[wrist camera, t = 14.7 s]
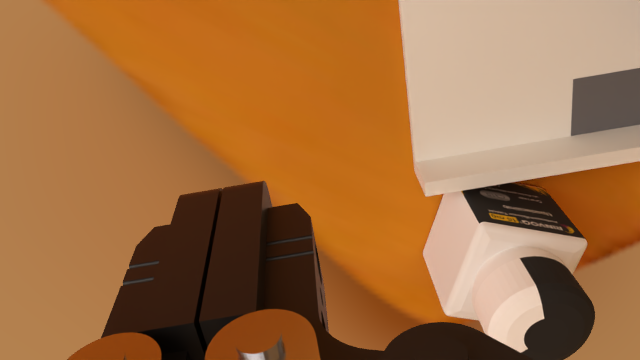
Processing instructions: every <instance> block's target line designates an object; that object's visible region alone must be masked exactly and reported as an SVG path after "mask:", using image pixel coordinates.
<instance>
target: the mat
mask: <svg viewBox="0 0 640 360" xmlns="http://www.w3.org/2000/svg"><path fill="white" fill-rule="evenodd" d="M634 125H640V68H636V69H630V70H624V71H618V72H612V73H606V74H600V75H595V76H589V77H583V78H577V79H573V93H572V116H571V136H575V135H581V134H586V133H592V132H598V131H604V130H610V129H616V128H622V127H628V126H634Z"/></svg>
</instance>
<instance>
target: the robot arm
mask: <svg viewBox="0 0 640 360" xmlns="http://www.w3.org/2000/svg"><path fill="white" fill-rule="evenodd" d="M327 321H328V320H327V311H326V301H325V291H324V284H323V278H322V273H321V269H320V263H319V258H318V253H317V248H316V242H315V237H314V232H313V227H312V222H311V217H310V216H309V215H308V214H307V213H306V212H305V211H304V209H303V208H302V207H301V206H300V205H299V204H298V203H295V204H289V205H283V206H277V207H272V204H271V200H270V195H269V191H268V188H267V185H266V182H265V181H261V182H255V183H249V184H243V185H237V186H231V187H225V188H224V189H221V188H220V189H214V190H208V191H202V192H196V193H191V194H185V195H180V197H179V199H178V202H177V205H176V208H175V212H174V215H173V218H172V221H171V224H170V225H164V226H158V227H154V228H153V229H152V230H151V232H149V233H148V234H147V236H146V237H145V238H144V239H143V240H142V241H141V242H140V243H139V244H138V245H137V246H136V248H135V251H134V254H133V256H132V259H131V262H130V264H129V269H128V270H127V272H126V274H125V277H124V280H123V286H121V288H120V290H119V293H118V295H117V298H116V300H115V303H114V306H113V308H112V311H111V313H110V316H109V319H108V321H107V324H106V327H105V329H104V332H103V334H102V337H101V339H98V340H96V341H94V342H92V343H90V344H88V345H86V346H84V347H83V348H81V349H80V350H78V351H77V352H75V353H74V354H73V355H72V356H70V357H69V358H68V359H67V360H534V359H532V358H530V357H528V356H526V355H524V354H522V353H520V352H518V351H517V350H515V349H513V348H511V347H509V346H507V345H505V344H503V343H501V342H499V341H497V340H496V339H494V338H492V337H490V336H488V335H486V334H484V333H482V332H480V331H478V330H476V329H474V328H471V327H468V326H465V325H462V324H456V323H447V322H437V323H428V324H423V325H419V326H416V327H413V328H411V329H409V330H407V331H405V332H403V333H401V334H400V335H398V336H397V337H396V338H395V339H394V340H392V341H391V342H390V343H389V345H388V346H387V348H386V349H385V351H378V350H367V349H362V348H357V347H353V346H349V345H347V344H345V343H342V342H340V341H339V340H337V339H335V338H334V337H332V336H331V335H330V334H329V330H328V322H327Z"/></svg>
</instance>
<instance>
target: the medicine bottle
mask: <svg viewBox="0 0 640 360" xmlns="http://www.w3.org/2000/svg"><path fill="white" fill-rule="evenodd" d="M587 244H588V243H587V241H586V239H585V238H584V237H583V235H582V234H581V233H580V232H579V231H578V229H577V228H576V227H575V226H574V224H573V223H572V222H571V221H570V220H569V218H568V217H567V216H566V215H565V213H564V212H563V211H562V210H561V209H560V207H559V206H558V205H557V204H556V202H555V201H554V200H553V199H552V198H551V196H550V195H549V194H548V193H547V191H546V190H545V189H543V188H540V187H535V186H529V185H524V184H518V183H512V182H511V183H505V184H499V185H493V186H487V187H481V188H475V189H469V190H463V191H457V192H451V193H445V194H444V195H443V198H442V200H441V203H440V206H439V209H438V211H437V214H436V217H435V220H434V222H433V225H432V228H431V231H430V234H429V236H428V239H427V242H426V245H425V247H424V250H423V256H424V259H425V262H426V265H427V267H428V270H429V273H430V275H431V278H432V281H433V284H434V286H435V289H436V292H437V295H438V297H439V300H440V303H441V306H442V308H443V311H444V313H445V314H446V315H447V316H451V317H458V318H465V319H473V320H479V321H480V323H481V326H482V328H483V330H484V332H485V334H486V335H488V336H490V337H492V338H494V339H496V340H497V341H499V342H501V343H503V344H505V345H507V346H509V347H511V348H513V349H515V350H517V351H518V352H520V353H522V354H524V355H526V356H528V357H530V358H532V359H534V360H564V359H565V358H567V357H569V356H570V355H572V354H573V353H575V352H576V351H577V350H578V349H579V348H580V347H581V346H582V345H583V344H584V343H585V341H586V340H587V338H588V337H589V335H590V333H591V330H592V327H593V325H594V320H595V311H594V306H593V304H592V302H591V300H590V299H589V297H588V296H587V294H586V293H585V292H584V290H583V289H582V287H581V286H580V285H579V283H578V282H577V280H576V279H575V278H574V276H573V273H574V271H575V269H576V267H577V265H578V263H579V261H580V259H581V257H582V255H583V253H584V251H585V249H586V247H587Z"/></svg>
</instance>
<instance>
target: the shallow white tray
mask: <svg viewBox="0 0 640 360" xmlns="http://www.w3.org/2000/svg"><path fill="white" fill-rule="evenodd" d="M398 1H399V12H400V22H401V33H402V43H403V54H404V65H405V75H406V86H407V96H408V107H409V118H410V128H411V139H412V149H413V160H414V170H415V173H416V176H417V178H418V180H419V182H420V185H421V187H422V189H423V191H424V194H425V196H426V197H427V196H433V195H439V194H445V193H451V192H457V191H463V190H469V189H475V188H481V187H487V186H493V185H499V184H505V183H511V182H517V181H523V180H529V179H535V178H541V177H547V176H553V175H559V174H565V173H571V172H577V171H583V170H589V169H595V168H601V167H607V166H613V165H619V164H625V163H631V162H637V161H640V125H634V126H628V127H622V128H616V129H610V130H604V131H598V132H592V133H586V134H581V135H575V136H571V116H572V93H573V79H577V78H583V77H589V76H595V75H600V74H606V73H612V72H618V71H624V70H630V69H636V68H640V0H398Z"/></svg>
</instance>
